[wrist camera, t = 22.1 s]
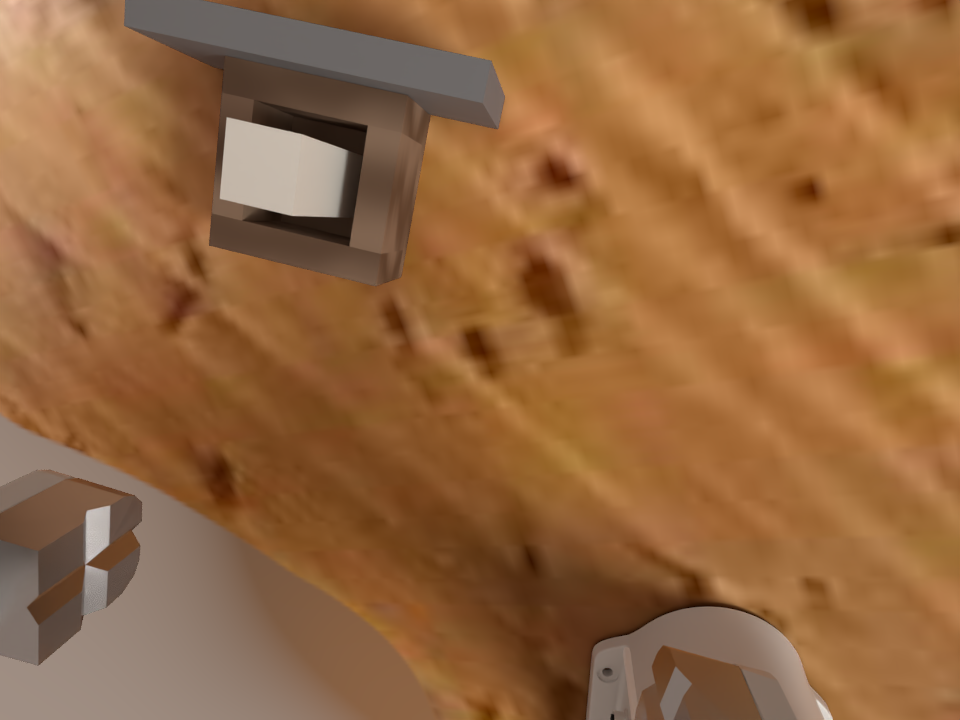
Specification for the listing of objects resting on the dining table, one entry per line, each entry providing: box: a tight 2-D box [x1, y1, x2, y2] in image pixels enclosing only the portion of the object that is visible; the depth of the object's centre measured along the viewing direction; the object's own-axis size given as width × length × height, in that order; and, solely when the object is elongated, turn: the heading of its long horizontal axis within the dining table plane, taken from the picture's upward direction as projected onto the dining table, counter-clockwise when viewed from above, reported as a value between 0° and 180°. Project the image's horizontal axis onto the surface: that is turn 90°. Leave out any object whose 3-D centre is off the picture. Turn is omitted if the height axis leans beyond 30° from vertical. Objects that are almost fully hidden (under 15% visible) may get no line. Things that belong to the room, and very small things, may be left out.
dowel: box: [220, 117, 363, 218], centre depth 32 cm, size 4×4×10 cm
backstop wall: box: [124, 0, 505, 129], centre depth 32 cm, size 2×20×8 cm, turn 77°
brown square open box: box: [209, 56, 431, 286], centre depth 35 cm, size 11×11×6 cm
